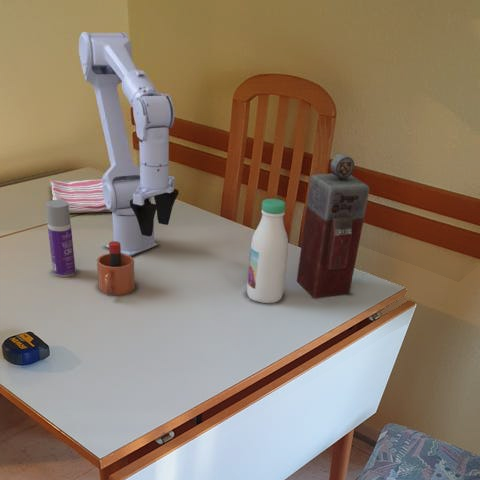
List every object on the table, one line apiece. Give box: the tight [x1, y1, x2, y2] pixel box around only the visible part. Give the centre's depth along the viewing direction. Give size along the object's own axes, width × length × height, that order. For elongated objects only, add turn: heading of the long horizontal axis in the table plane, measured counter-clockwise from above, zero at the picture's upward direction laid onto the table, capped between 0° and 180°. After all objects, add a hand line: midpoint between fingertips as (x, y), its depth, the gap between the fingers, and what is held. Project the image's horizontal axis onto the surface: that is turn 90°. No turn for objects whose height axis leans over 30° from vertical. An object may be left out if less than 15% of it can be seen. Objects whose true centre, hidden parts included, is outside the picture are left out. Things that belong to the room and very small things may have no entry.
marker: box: [108, 240, 122, 267], centre depth 129 cm, size 2×2×9 cm
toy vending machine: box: [296, 153, 370, 299], centre depth 130 cm, size 9×11×28 cm
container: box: [45, 199, 76, 278], centre depth 132 cm, size 5×5×15 cm
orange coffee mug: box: [96, 252, 136, 297], centre depth 129 cm, size 10×7×6 cm
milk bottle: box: [246, 198, 289, 304], centre depth 128 cm, size 8×8×20 cm
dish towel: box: [49, 178, 112, 214], centre depth 172 cm, size 17×23×4 cm
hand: (155, 229), depth 133 cm, fingers open, 7 cm apart
